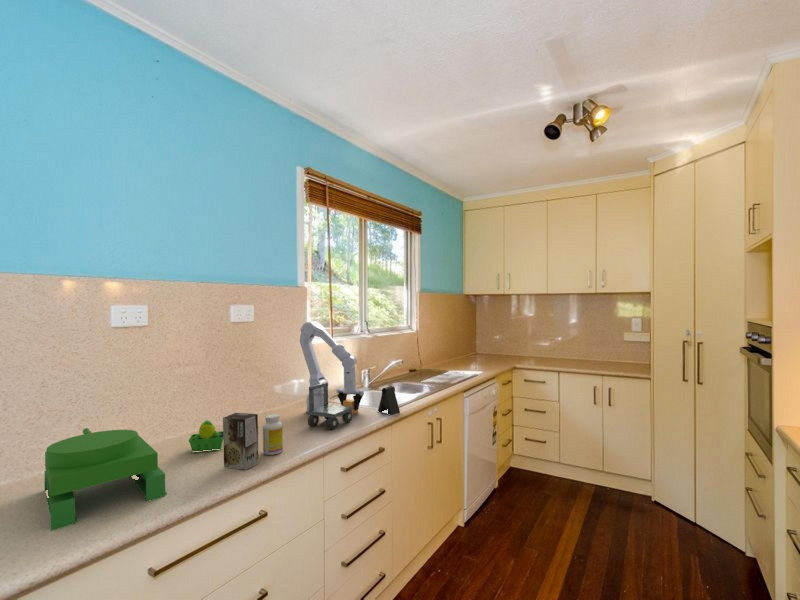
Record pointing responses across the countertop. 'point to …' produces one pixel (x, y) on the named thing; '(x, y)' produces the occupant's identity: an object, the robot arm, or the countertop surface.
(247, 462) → the coffee box
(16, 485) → the countertop surface
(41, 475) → the countertop surface
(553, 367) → the countertop surface
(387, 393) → the black triangular stand
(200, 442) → the fruit basket
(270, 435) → the supplement bottle
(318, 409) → the trolley
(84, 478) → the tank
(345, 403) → the wheel chock
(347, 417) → the trolley wheels
